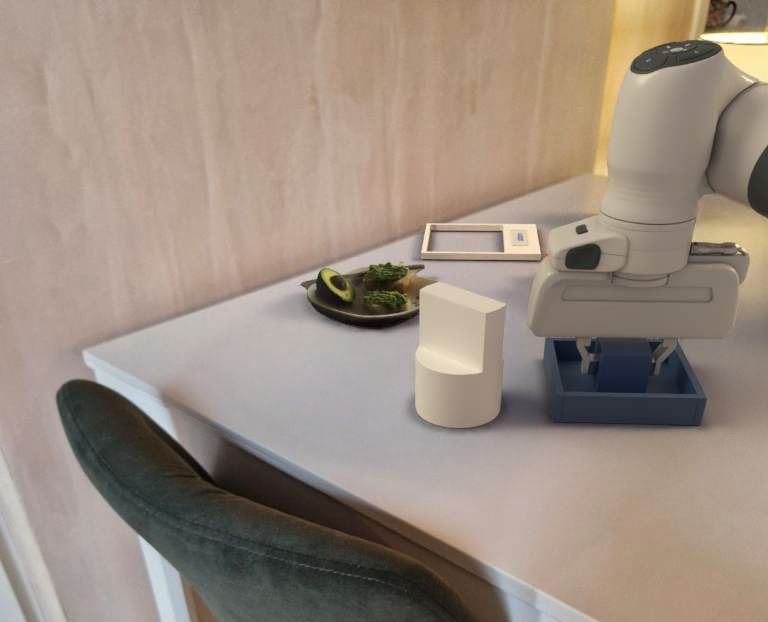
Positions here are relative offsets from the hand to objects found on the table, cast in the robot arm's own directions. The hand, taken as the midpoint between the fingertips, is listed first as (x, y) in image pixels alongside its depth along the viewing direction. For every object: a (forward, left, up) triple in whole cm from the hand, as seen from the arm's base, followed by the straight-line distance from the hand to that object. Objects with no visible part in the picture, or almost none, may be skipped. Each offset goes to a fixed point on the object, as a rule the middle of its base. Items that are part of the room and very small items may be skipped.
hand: (618, 373), depth 81 cm
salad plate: (+29, -24, -2) cm, 38 cm away
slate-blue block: (0, 0, -2) cm, 2 cm away
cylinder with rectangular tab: (+17, +4, -2) cm, 18 cm away
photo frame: (+14, -48, -2) cm, 50 cm away
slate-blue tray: (0, 0, -2) cm, 2 cm away
